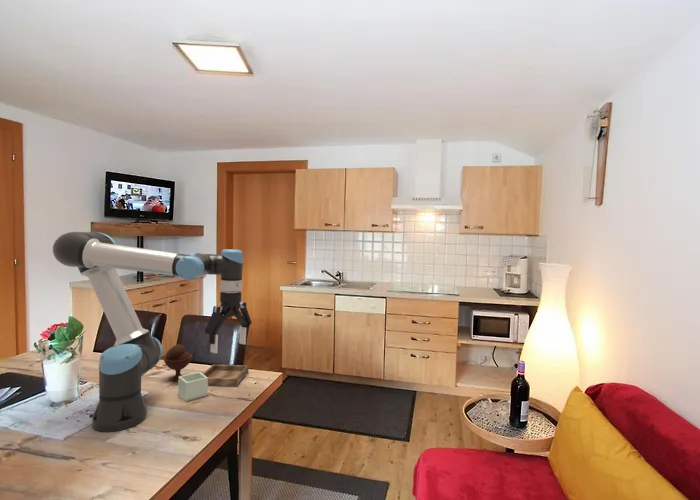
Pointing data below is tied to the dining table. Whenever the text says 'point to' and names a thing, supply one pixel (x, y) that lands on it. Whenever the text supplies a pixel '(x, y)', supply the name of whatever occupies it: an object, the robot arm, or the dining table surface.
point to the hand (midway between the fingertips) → (228, 348)
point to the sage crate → (192, 386)
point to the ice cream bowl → (177, 359)
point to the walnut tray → (226, 375)
